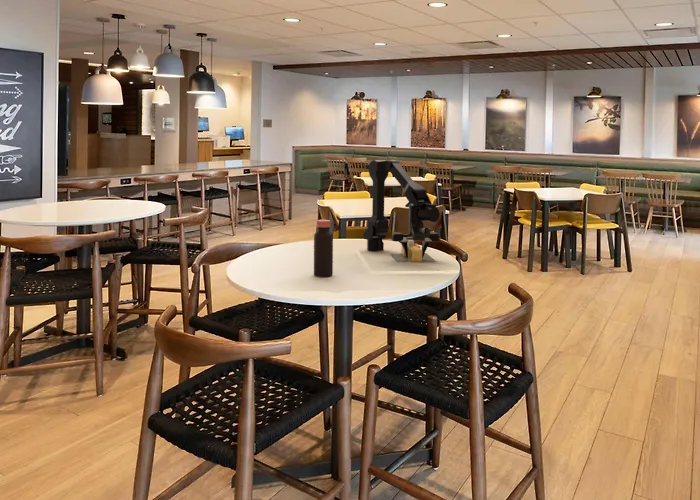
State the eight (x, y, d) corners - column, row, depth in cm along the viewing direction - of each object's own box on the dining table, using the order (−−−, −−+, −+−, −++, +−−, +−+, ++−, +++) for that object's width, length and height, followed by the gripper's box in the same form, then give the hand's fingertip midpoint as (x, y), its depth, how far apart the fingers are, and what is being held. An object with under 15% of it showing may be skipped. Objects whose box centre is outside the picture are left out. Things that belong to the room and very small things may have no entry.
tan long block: (424, 261, 242) (425, 250, 241) (408, 261, 241) (409, 250, 241) (416, 254, 257) (416, 243, 256) (401, 254, 256) (401, 243, 256)
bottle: (325, 278, 217) (326, 222, 213) (310, 275, 221) (310, 220, 217) (336, 274, 223) (336, 220, 219) (320, 272, 226) (321, 218, 223)
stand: (396, 265, 241) (397, 246, 239) (389, 256, 258) (389, 238, 257) (436, 264, 242) (437, 246, 241) (426, 255, 260) (426, 238, 259)
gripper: (396, 222, 234) (395, 262, 237) (444, 222, 236) (442, 261, 239) (391, 218, 245) (390, 256, 248) (437, 218, 247) (435, 256, 250)
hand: (414, 257), depth 246 cm, fingers open, 6 cm apart
